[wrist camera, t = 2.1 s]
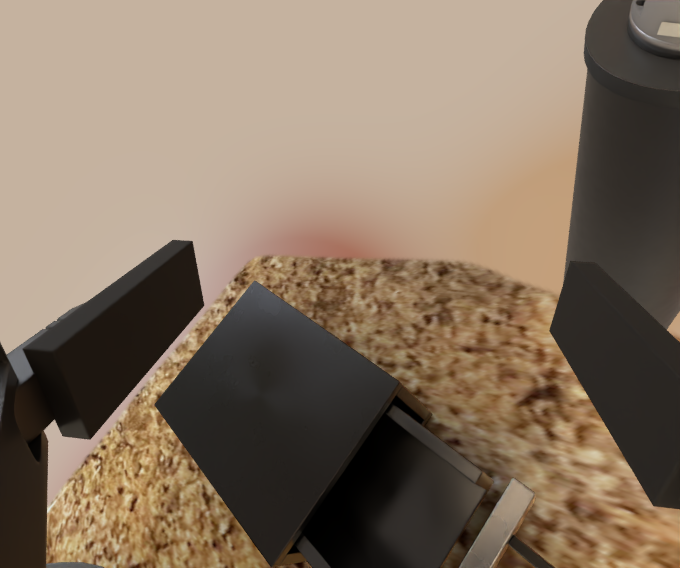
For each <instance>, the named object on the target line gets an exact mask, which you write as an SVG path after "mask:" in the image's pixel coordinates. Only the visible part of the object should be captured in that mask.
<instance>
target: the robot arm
mask: <svg viewBox="0 0 680 568" xmlns="http://www.w3.org/2000/svg"><path fill="white" fill-rule="evenodd" d="M628 33H629V35H630V37H631V39H632V40H633V41H634V43H635V44H636V45H638V46H639V47H640V48H642V49H643V50H645V51H647V52H649V53H651V54H654V55H657V56H660V57H664V58H669V59H675V60H680V0H633V1H632V4H631V8H630V13H629V19H628ZM203 306H204V302H203V296H202V291H201V285H200V280H199V275H198V269H197V264H196V258H195V253H194V247H193V242H192V241H180V240H172V241H171V242H169V243H168V244H167V245H165V246H164V247H162V248H161V249H160V250H158V251H157V252H155V253H154V254H153V255H151V256H150V257H149V258H147V259H146V260H145V261H143V262H142V263H140V264H139V265H138V266H136V267H135V268H133V269H132V270H131V271H129V272H128V273H126V274H125V275H124V276H122V277H121V278H119V279H118V280H117V281H116V282H114V283H113V284H111V285H110V286H108V287H107V288H106V289H104V290H103V291H102V292H100V293H99V294H98V295H96V296H95V297H93V298H92V299H90V300H89V301H88V302H86V303H84V304H81V305H79V306H77V307H75V308H72V309H71V310H69V311H68V312H67V313H65V314H64V315H62V316H61V317H59V318H58V319H57V321H54V322H52V323H51V324H50V325H48V326H47V327H46V329H42V330H41V331H40V332H38V333H37V334H35V335H34V336H33V337H31V338H30V339H28V340H27V341H26V342H24V343H23V344H21V345H20V346H19V347H17V348H16V349H14V350H13V351H11V352H10V353H9V354H7V355H6V353H5V351H4V349H3V347H2V345H1V343H0V568H46V542H47V475H48V440H47V437H46V435H45V433H44V431H43V430H44V429H45V428H46V427H47V426H48V425H49V424H50V423H51V422H52V421H53V420H54V419H55V421H56V423H57V425H58V427H59V430H60V432H61V434H62V436H65V437H73V438H82V439H91V438H92V437H93V436H94V435H95V433H96V432H97V431H98V430H99V429H100V428H101V426H102V425H103V424H104V423H105V422H106V420H107V419H108V418H109V417H110V416H111V415H112V413H113V412H114V411H115V410H116V409H117V407H118V406H119V405H120V404H121V403H122V402H123V400H124V399H125V398H126V397H127V396H128V395H129V393H130V392H131V391H132V390H133V389H134V388H135V386H136V385H137V384H138V383H139V382H140V380H141V379H142V378H143V377H144V376H145V375H146V373H147V372H148V371H149V370H150V369H151V368H152V366H153V365H154V364H155V363H156V362H157V360H158V359H159V358H160V357H161V356H162V355H163V353H164V352H165V351H166V350H167V349H168V348H169V346H170V345H171V344H172V343H173V342H174V341H175V339H176V338H177V337H178V336H179V335H180V333H181V332H182V331H183V330H184V329H185V328H186V326H187V325H188V324H189V323H190V321H191V320H192V319H193V318H194V317H195V316H196V315H197V313H198V312H199V311H200V310H201V309H202V308H203ZM550 332H551V334H552V336H553V337H554V339H555V341H556V343H557V344H558V346H559V348H560V349H561V351H562V353H563V354H564V356H565V358H566V359H567V361H568V363H569V364H570V366H571V368H572V370H573V371H574V373H575V375H576V376H577V378H578V380H579V381H580V383H581V385H582V386H583V388H584V390H585V391H586V393H587V395H588V397H589V398H590V400H591V402H592V403H593V405H594V407H595V408H596V410H597V412H598V413H599V415H600V417H601V418H602V420H603V422H604V423H605V425H606V427H607V429H608V430H609V432H610V434H611V435H612V437H613V439H614V440H615V442H616V444H617V445H618V447H619V449H620V450H621V452H622V454H623V456H624V457H625V459H626V461H627V462H628V464H629V466H630V467H631V469H632V471H633V472H634V474H635V476H636V477H637V479H638V481H639V483H640V484H641V486H642V488H643V489H644V491H645V493H646V494H647V496H648V498H649V499H650V501H651V503H652V504H653V506H657V507H666V508H674V509H680V342H679V341H678V340H677V339H675V338H674V337H673V336H672V335H671V334H670V333H669V332H668V331H667V330H666V329H665V328H664V327H663V326H662V325H661V324H660V323H659V322H658V321H656V320H655V319H654V318H653V317H652V316H651V315H650V314H649V313H648V312H647V311H646V310H645V309H644V308H643V307H642V306H641V305H640V304H638V303H637V302H636V301H635V300H634V299H633V298H632V297H631V296H630V295H629V294H628V293H627V292H626V291H625V290H624V289H623V288H622V287H621V286H619V285H618V284H617V283H616V282H615V281H614V280H613V279H612V278H611V277H610V276H609V275H608V274H607V273H606V272H605V271H604V270H603V269H601V268H600V267H599V266H598V265H597V264H596V263H595V262H576V261H570V264H569V267H568V271H567V274H566V277H565V281H564V284H563V287H562V291H561V294H560V297H559V301H558V304H557V307H556V311H555V314H554V317H553V321H552V324H551V327H550Z"/></svg>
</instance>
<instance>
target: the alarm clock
mask: <svg viewBox="0 0 680 568" xmlns="http://www.w3.org/2000/svg"><path fill="white" fill-rule="evenodd" d="M46 568H104V567H102V566H97V565H93V564H88V563H83V562H60V563H50V564H46Z"/></svg>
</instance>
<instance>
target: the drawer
mask: <svg viewBox="0 0 680 568" xmlns="http://www.w3.org/2000/svg"><path fill="white" fill-rule="evenodd" d="M493 483H494V481H493V479H491V478H490V477H489V476H488V475H487V474H485V473H484V472H483V471H482V470H481V469H479V468H478V467H477V466H475V465H474V464H473V463H471V462H470V461H469V460H467V459H466V458H465V457H463V456H462V455H461V454H459V453H458V452H457V451H455V450H454V449H453V448H451V447H450V446H449V445H447V444H446V443H445V442H443V441H442V440H441V439H439V438H438V437H437V436H435V435H434V434H433V433H431V432H430V431H429V430H427V429H426V428H425V427H423V426H422V425H421V424H419V423H418V422H417V421H415V420H414V419H413V418H411V417H410V416H409V415H407V414H406V413H405V412H403V411H402V410H401V409H399V408H398V407H397V406H395V405H394V404H393V403H390V405H389V406H388V408H387V409H386V411H385V412H384V413H383V415H382V416H381V418H380V419H379V421H378V422H377V424H376V425H375V427H374V428H373V429H372V431H371V432H370V434H369V435H368V437H367V438H366V440H365V441H364V443H363V444H362V445H361V447H360V448H359V450H358V451H357V453H356V454H355V456H354V457H353V459H352V460H351V461H350V463H349V464H348V466H347V467H346V469H345V470H344V472H343V473H342V475H341V476H340V477H339V479H338V480H337V482H336V483H335V485H334V486H333V488H332V489H331V491H330V492H329V493H328V495H327V496H326V498H325V499H324V501H323V502H322V504H321V505H320V507H319V508H318V509H317V511H316V512H315V514H314V515H313V517H312V518H311V520H310V521H309V523H308V524H307V525H306V527H305V528H304V530H303V531H302V533H301V534H300V536H299V537H298V539H297V540H296V541H295V543H294V545H295V546H296V548H297V549H298V550H299V551H300V553H301V554H302V555H303V556H304V558H305V559H306V560H307V561H308V563H309V564H310V565H311V566H312V568H442V566H443V564H444V563H445V561H446V560H447V558H448V556H449V555H450V553H451V551H452V550H453V548H454V546H455V545H456V543H457V542H458V540H459V538H460V537H461V535H462V533H463V532H464V530H465V528H466V527H467V525H468V523H469V522H470V520H471V519H472V517H473V515H474V514H475V512H476V510H477V509H478V507H479V505H480V504H481V502H482V501H483V499H484V497H485V496H486V494H487V492H488V491H489V489H490V487H491V486H492V484H493ZM535 500H536V498H535V492H533V491H532V490H531V489H529V488H528V487H527V486H525V485H524V484H522V483H521V482H520V481H518V480H517V479H516V478H512V479H511V481H510V482H509V484H508V486H507V487H506V489H505V491H504V492H503V494H502V496H501V497H500V499H499V501H498V502H497V504H496V506H495V507H494V509H493V511H492V512H491V514H490V516H489V517H488V519H487V521H486V522H485V524H484V526H483V527H482V529H481V531H480V532H479V534H478V536H477V537H476V539H475V540H474V542H473V544H472V545H471V547H470V549H469V550H468V552H467V554H466V555H465V557H464V559H463V560H462V562H461V564H460V565H459V567H458V568H496V567H497V565H498V563H499V562H500V560H501V558H502V556H503V555H504V553H505V551H506V550H507V548H508V546H510V547H511V548H513V549H514V550H515V551H516V552H517V553H519V554H520V555H521V556H522V557H523V558H525V559H526V560H527V561H528V562H529V563H531V564H532V565H533V566H534V567H535V568H555V567H554V566H552V565H551V564H550V563H549V562H547V561H546V560H545V559H544V558H543V557H541V556H540V555H539V554H538V553H536V552H535V551H534V550H533V549H532V548H530V547H529V546H528V545H527V544H525V543H524V542H523V541H522V540H520V539H519V538H518V537H517V536H516V535H515V534H516V533H517V531H518V529H519V527H520V526H521V524H522V522H523V521H524V519H525V517H526V515H527V514H528V512H529V510H530V509H531V507H532V505H533V504H534V502H535Z"/></svg>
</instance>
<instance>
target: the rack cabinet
mask: <svg viewBox="0 0 680 568" xmlns="http://www.w3.org/2000/svg"><path fill="white" fill-rule="evenodd" d="M390 403H393V404H394V405H395V406H397V407H398V408H399V409H401V410H402V411H403V412H405V413H406V414H407V415H409V416H410V417H411V418H413V419H414V420H415V421H417V422H418V423H419V424H421V425H422V426H423V427H424V426H425V425H426V423H427V422H428V420H429V419H430V417H431V416H432V413H431V412H430V411H429V410H428V409H427V408H426V407H425V406H424V405H423V404H422V403H421V402H420V401H419V400H418V399H417V398H416V397H415V396H414V395H413V394H412V393H411V392H410V391H409V390H408V389H407V388H406V387H405V386H403V385H402V384H401V383H400V382H399V381H398V380H397V379H395V378H394V377H392V376H391V375H389V374H388V373H387V372H385V371H384V370H382V369H381V368H379V367H378V366H377V365H375V364H374V363H372V362H371V361H369V360H368V359H367V358H365V357H364V356H362V355H361V354H359V353H358V352H357V351H355V350H354V349H352V348H351V347H349V346H348V345H347V344H345V343H344V342H342V341H341V340H339V339H338V338H337V337H335V336H334V335H332V334H331V333H329V332H328V331H327V330H325V329H324V328H322V327H321V326H319V325H318V324H317V323H315V322H314V321H312V320H311V319H309V318H308V317H307V316H305V315H304V314H302V313H301V312H299V311H298V310H297V309H295V308H294V307H292V306H291V305H289V304H288V303H287V302H285V301H284V300H282V299H281V298H279V297H278V296H277V295H275V294H274V293H272V292H271V291H269V290H268V289H267V288H265V287H264V286H262V285H261V284H259V283H258V282H257V281H254V282H253V283H252V284H251V285H250V287H249V288H248V289H247V290H246V291H245V293H244V294H243V295H242V296H241V298H240V299H239V300H238V301H237V303H236V304H235V305H234V306H233V308H232V309H231V310H230V311H229V313H228V314H227V315H226V316H225V318H224V319H223V320H222V321H221V322H220V324H219V325H218V326H217V327H216V329H215V330H214V331H213V332H212V334H211V335H210V336H209V337H208V339H207V340H206V341H205V342H204V344H203V345H202V346H201V347H200V349H199V350H198V351H197V352H196V353H195V355H194V356H193V357H192V358H191V360H190V361H189V362H188V363H187V365H186V366H185V367H184V368H183V370H182V371H181V372H180V373H179V375H178V376H177V377H176V378H175V380H174V381H173V382H172V383H171V384H170V386H169V387H168V388H167V389H166V391H165V392H164V393H163V394H162V396H161V397H160V398H159V399H158V401H157V402H156V403H155V406H156V408H157V409H158V411H159V412H160V413H161V415H162V416H163V418H164V419H165V420H166V422H167V423H168V424H169V426H170V427H171V429H172V430H173V431H174V433H175V434H176V436H177V437H178V438H179V440H180V441H181V443H182V444H183V445H184V447H185V448H186V450H187V451H188V452H189V454H190V455H191V456H192V458H193V459H194V461H195V462H196V463H197V465H198V466H199V468H200V469H201V470H202V472H203V473H204V475H205V476H206V477H207V479H208V480H209V482H210V483H211V484H212V486H213V487H214V488H215V490H216V491H217V493H218V494H219V495H220V497H221V498H222V500H223V501H224V502H225V504H226V505H227V507H228V508H229V509H230V511H231V512H232V514H233V515H234V516H235V518H236V519H237V520H238V522H239V523H240V525H241V526H242V527H243V529H244V530H245V532H246V533H247V534H248V536H249V537H250V539H251V540H252V541H253V543H254V544H255V546H256V547H257V548H258V550H259V551H260V552H261V554H262V555H263V557H264V558H265V559H266V561H267V562H268V564H269V565H270V566H271V567H277V566H284V565H289V564H294V563H299V562H304V561H307V560H306V559H305V558H304V556H303V555H302V554H301V553H300V551H299V550H298V549H297V548H296V546H295V545H294V543H295V541H296V540H297V539H298V537H299V536H300V534H301V533H302V531H303V530H304V528H305V527H306V525H307V524H308V523H309V521H310V520H311V518H312V517H313V515H314V514H315V512H316V511H317V509H318V508H319V507H320V505H321V504H322V502H323V501H324V499H325V498H326V496H327V495H328V493H329V492H330V491H331V489H332V488H333V486H334V485H335V483H336V482H337V480H338V479H339V477H340V476H341V475H342V473H343V472H344V470H345V469H346V467H347V466H348V464H349V463H350V461H351V460H352V459H353V457H354V456H355V454H356V453H357V451H358V450H359V448H360V447H361V445H362V444H363V443H364V441H365V440H366V438H367V437H368V435H369V434H370V432H371V431H372V429H373V428H374V427H375V425H376V424H377V422H378V421H379V419H380V418H381V416H382V415H383V413H384V412H385V411H386V409H387V408H388V406H389V405H390Z"/></svg>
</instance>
